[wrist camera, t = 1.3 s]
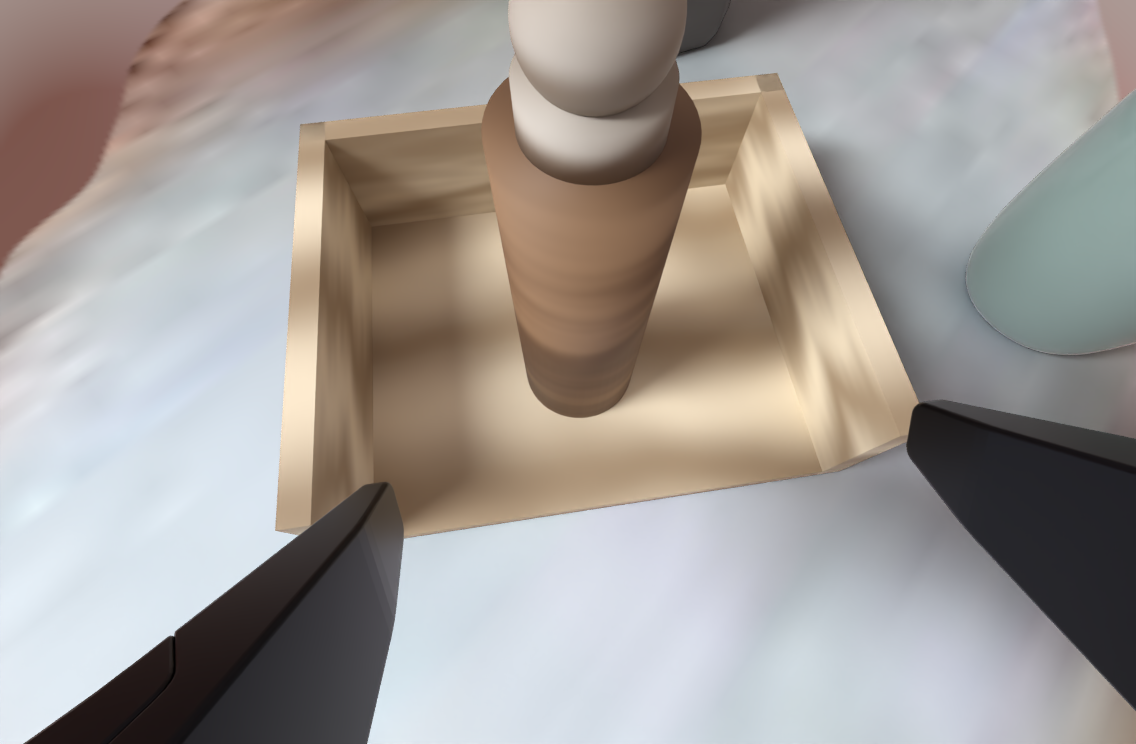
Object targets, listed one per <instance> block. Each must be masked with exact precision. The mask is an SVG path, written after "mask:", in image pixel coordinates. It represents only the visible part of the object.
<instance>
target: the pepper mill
mask: <svg viewBox="0 0 1136 744" xmlns="http://www.w3.org/2000/svg"><path fill="white" fill-rule="evenodd" d="M686 17H687V0H509V7H508V19H509V30H510V36H511V42H512V45H513V48H514V51H515V54H514V57H513V59H512V61H511V65H510V68H509V77H508V78H507V79H506V80H504V81H503V82H502V84H501V85H500V86H499V87H498V88H497V89H496V90H495V92H494V93H493V95H492V96H491V98H490V100H489V102H488V104H487V106H486V108H485V111H484V115H483V118H482V127H481V134H482V143H483V148H484V154H485V159H486V164H487V169H488V175H489V180H490V185H491V190H492V195H493V201H494V206H495V211H496V216H497V222H498V227H499V232H500V237H501V243H502V248H503V253H504V258H505V264H506V269H507V274H508V279H509V284H510V290H511V295H512V300H513V305H514V311H515V316H516V321H517V326H518V332H519V337H520V342H521V347H522V353H523V358H524V363H525V368H526V373H527V378H528V382H529V385H530V388H531V390H532V392H533V393H534V395H535V396H536V398H537V399H538V400H539V401H540V402H541V403H542V404H543V405H544V406H545V407H547V408H548V409H550V410H551V411H553V412H555V413H557V414H560V415H563V416H566V417H572V418H587V417H592V416H596V415H599V414H601V413H604V412H605V411H607V410H609V409H610V408H612V407H613V406H615V405H616V404H617V403H618V402H619V401H620V399H621V398H622V397H623V395H624V394H625V392H626V390H627V388H628V386H629V383H630V380H631V376H632V373H633V370H634V366H635V363H636V360H637V356H638V353H639V350H640V346H641V343H642V340H643V336H644V333H645V330H646V326H647V323H648V320H649V316H650V313H651V310H652V306H653V303H654V300H655V296H656V293H657V290H658V286H659V283H660V280H661V276H662V273H663V270H664V267H665V263H666V260H667V257H668V253H669V250H670V247H671V243H672V240H673V237H674V233H675V230H676V227H677V223H678V220H679V217H680V213H681V210H682V207H683V203H684V200H685V197H686V193H687V190H688V187H689V183H690V180H691V177H692V173H693V170H694V167H695V163H696V160H697V157H698V154H699V149H700V145H701V137H702V129H701V121H700V118H699V114H698V111H697V109H696V107H695V104H694V102H693V100H692V99H691V97H690V96H689V95H688V93H687V92H686V90H685V89H684V88H683V87H682V86H681V85H680V84H679V69H678V66H677V62H676V60H675V59H676V57H677V55H678V52H679V50H680V46H681V43H682V39H683V36H684V32H685V25H686Z"/></svg>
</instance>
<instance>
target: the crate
mask: <svg viewBox="0 0 1136 744" xmlns="http://www.w3.org/2000/svg"><path fill="white" fill-rule="evenodd" d="M680 85H681V86H682V87H683V88H684V89H685V90H686V92H687V93H688V95H689V96H690V97H691V99H692V100H693V102H694V104H695V107H696V109H697V111H698V114H699V118H700V121H701V129H702V137H701V145H700V149H699V154H698V157H697V160H696V163H695V167H694V170H693V173H692V177H691V180H690V183H689V187H688V190H687V193H686V197H685V200H684V203H683V207H682V210H681V213H680V217H679V220H678V223H677V227H676V230H675V233H674V237H673V240H672V243H671V247H670V250H669V253H668V257H667V260H666V263H665V267H664V270H663V273H662V276H661V280H660V283H659V286H658V290H657V293H656V296H655V300H654V303H653V306H652V310H651V313H650V316H649V320H648V323H647V326H646V330H645V333H644V336H643V340H642V343H641V346H640V350H639V353H638V356H637V360H636V363H635V366H634V370H633V373H632V376H631V380H630V383H629V386H628V388H627V390H626V392H625V394H624V395H623V397H622V398H621V399H620V401H619V402H618V403H617V404H616V405H615V406H613V407H612V408H610V409H609V410H607V411H605V412H604V413H601V414H599V415H596V416H592V417H587V418H572V417H566V416H563V415H560V414H557V413H555V412H553V411H551V410H550V409H548V408H547V407H545V406H544V405H543V404H542V403H541V402H540V401H539V400H538V399H537V398H536V396H535V395H534V393H533V392H532V390H531V388H530V385H529V382H528V378H527V373H526V368H525V363H524V358H523V353H522V347H521V342H520V337H519V332H518V326H517V321H516V316H515V311H514V305H513V300H512V295H511V290H510V284H509V279H508V274H507V269H506V264H505V258H504V253H503V248H502V243H501V237H500V232H499V227H498V222H497V216H496V211H495V206H494V201H493V195H492V190H491V185H490V180H489V175H488V169H487V164H486V159H485V154H484V148H483V143H482V134H481V127H482V118H483V115H484V111H485V108H486V106H487V104H486V105H477V106H467V107H458V108H449V109H440V110H430V111H421V112H412V113H403V114H393V115H384V116H375V117H365V118H356V119H347V120H338V121H328V122H319V123H310V124H301V125H300V139H299V155H298V171H297V187H296V203H295V220H294V236H293V252H292V268H291V284H290V301H289V317H288V333H287V349H286V365H285V382H284V398H283V414H282V430H281V447H280V463H279V479H278V495H277V511H276V528H275V531H280V532H285V533H290V534H295V535H300V534H301V533H302V532H304V531H305V530H306V529H308V528H309V527H310V526H312V525H313V524H314V523H315V522H317V521H318V520H319V519H321V518H322V517H323V516H324V515H326V514H327V513H328V512H330V511H331V510H332V509H333V508H335V507H336V506H337V505H339V504H340V503H341V502H342V501H344V500H345V499H346V498H348V497H349V496H350V495H351V494H353V493H354V492H355V491H357V490H358V489H359V488H360V487H362V486H363V485H366V484H372V483H378V482H389V483H390V484H391V485H392V487H393V489H394V492H395V496H396V499H397V503H398V506H399V510H400V513H401V517H402V521H403V526H404V538H410V537H416V536H423V535H429V534H436V533H442V532H449V531H455V530H462V529H468V528H475V527H481V526H488V525H494V524H501V523H507V522H514V521H520V520H526V519H533V518H539V517H546V516H552V515H559V514H565V513H572V512H578V511H585V510H591V509H598V508H604V507H611V506H617V505H624V504H630V503H637V502H643V501H650V500H656V499H663V498H669V497H675V496H682V495H688V494H695V493H701V492H708V491H714V490H721V489H727V488H734V487H740V486H747V485H753V484H760V483H766V482H773V481H779V480H786V479H792V478H799V477H805V476H811V475H818V474H824V473H831V472H837V471H841V470H843V469H845V468H848V467H850V466H852V465H855V464H857V463H859V462H862V461H864V460H866V459H868V458H871V457H873V456H875V455H878V454H880V453H882V452H885V451H887V450H889V449H892V448H894V447H896V446H899V445H901V444H903V443H905V442H907V437H908V431H909V426H910V420H911V414H912V410H913V408H914V407H915V405H917V404H918V403H919V401H918V399H917V397H916V394H915V392H914V390H913V387H912V385H911V383H910V380H909V378H908V376H907V373H906V371H905V369H904V366H903V364H902V362H901V360H900V357H899V355H898V353H897V350H896V348H895V346H894V343H893V341H892V339H891V336H890V334H889V332H888V329H887V327H886V325H885V322H884V320H883V318H882V315H881V313H880V311H879V308H878V306H877V304H876V302H875V299H874V297H873V295H872V292H871V290H870V288H869V285H868V283H867V281H866V278H865V276H864V274H863V271H862V269H861V267H860V264H859V262H858V260H857V257H856V255H855V253H854V250H853V248H852V246H851V243H850V241H849V239H848V237H847V234H846V232H845V230H844V227H843V225H842V223H841V220H840V218H839V216H838V213H837V211H836V209H835V206H834V204H833V202H832V199H831V197H830V195H829V192H828V190H827V188H826V185H825V183H824V181H823V179H822V176H821V174H820V172H819V169H818V167H817V165H816V162H815V160H814V158H813V155H812V153H811V151H810V148H809V146H808V144H807V141H806V139H805V137H804V134H803V132H802V130H801V127H800V125H799V123H798V120H797V118H796V116H795V114H794V111H793V109H792V107H791V104H790V102H789V100H788V97H787V95H786V93H785V90H784V88H783V86H782V83H781V81H780V79H779V76H778V74H777V73H773V74H764V75H755V76H745V77H736V78H727V79H718V80H708V81H699V82H690V83H680Z"/></svg>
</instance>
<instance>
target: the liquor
mask: <svg viewBox="0 0 1136 744" xmlns="http://www.w3.org/2000/svg"><path fill="white" fill-rule="evenodd" d="M730 1H731V0H687V17H686V25H685V32H684V36H683V39H682V43H681V46H680V50H679V52H678V53H680V52H684V51H687V50H691V49H694V48H698V47H701V46H705V45H706V44H707V43H708V42H709V41H710V39H711V38H712V37H713V36H714V35H715V34H716V32H717V30H718V28H719V26H720V24H721V22H722V20H723V18H724V16H725V14H726V11H727V9H728V7H729V5H730Z"/></svg>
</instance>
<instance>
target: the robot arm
mask: <svg viewBox="0 0 1136 744" xmlns="http://www.w3.org/2000/svg"><path fill="white" fill-rule="evenodd" d="M906 447H907V452H908V455H909V457H910V459H911V460H912V462H913V463H914V464H915V465H916V467H917V468H918V469H919V471H920V472H921V473H922V474H923V476H924V477H925V478H926V479H927V481H928V482H929V483H930V485H931V486H932V487H933V488H934V490H935V491H936V492H937V494H938V495H939V496H940V497H941V499H942V500H943V501H944V503H945V504H946V505H947V506H948V508H949V509H950V510H951V512H952V513H953V514H954V515H955V517H956V518H957V519H958V520H959V522H960V523H961V524H962V525H963V526H964V528H965V529H966V530H967V531H968V532H969V533H970V535H971V536H972V537H973V538H974V539H975V540H976V541H977V542H978V543H979V544H980V545H981V547H982V548H983V549H984V550H985V551H986V552H987V553H988V554H989V555H990V556H991V557H992V558H993V559H994V560H995V561H996V563H997V564H998V565H999V566H1000V567H1001V568H1002V569H1003V570H1004V571H1005V572H1006V573H1007V574H1008V575H1009V576H1010V577H1011V579H1012V580H1013V581H1014V582H1015V583H1016V584H1017V585H1018V586H1019V587H1020V588H1021V589H1022V590H1023V591H1024V592H1025V593H1026V595H1027V596H1028V597H1029V598H1030V599H1031V600H1032V601H1033V602H1034V603H1035V604H1036V605H1037V606H1038V607H1039V608H1040V609H1041V611H1042V612H1043V613H1044V614H1045V615H1046V616H1047V617H1048V618H1049V619H1050V620H1051V621H1052V622H1053V623H1054V624H1055V625H1056V627H1057V628H1058V629H1059V630H1060V631H1061V632H1062V633H1063V634H1064V635H1065V636H1066V637H1067V638H1068V639H1069V640H1070V641H1071V643H1072V644H1073V645H1074V646H1075V647H1076V648H1077V649H1078V650H1079V651H1080V652H1081V653H1082V654H1083V655H1084V656H1085V657H1086V659H1087V660H1088V661H1089V662H1090V663H1091V664H1092V665H1093V666H1094V667H1095V668H1096V669H1097V670H1098V671H1099V672H1100V673H1101V675H1102V676H1103V677H1104V678H1105V679H1106V680H1107V681H1108V682H1109V683H1110V684H1111V685H1112V686H1113V687H1114V688H1115V689H1116V691H1117V692H1118V693H1119V694H1120V695H1121V696H1122V697H1123V698H1124V699H1125V700H1126V701H1127V702H1128V703H1129V704H1130V705H1131V707H1132V708H1133V709H1134V710H1135V711H1136V439H1134V438H1129V437H1124V436H1119V435H1114V434H1109V433H1104V432H1099V431H1094V430H1089V429H1084V428H1079V427H1075V426H1070V425H1065V424H1060V423H1055V422H1050V421H1045V420H1040V419H1035V418H1030V417H1025V416H1020V415H1016V414H1011V413H1006V412H1001V411H996V410H991V409H986V408H981V407H976V406H971V405H966V404H962V403H957V402H952V401H947V400H934V401H927V402H921V403H918V404H917V405H915V407H914V408H913V410H912V414H911V420H910V426H909V431H908V437H907V444H906ZM403 540H404V526H403V521H402V517H401V513H400V510H399V506H398V503H397V499H396V496H395V492H394V489H393V487H392V485H391V484H390V483H389V482H378V483H372V484H366V485H363V486H362V487H360V488H359V489H358V490H357V491H355V492H354V493H353V494H351V495H350V496H349V497H348V498H346V499H345V500H344V501H342V502H341V503H340V504H339V505H337V506H336V507H335V508H333V509H332V510H331V511H330V512H328V513H327V514H326V515H324V516H323V517H322V518H321V519H319V520H318V521H317V522H315V523H314V524H313V525H312V526H310V527H309V528H308V529H306V530H305V531H304V532H302V533H301V534H300V535H299V536H297V537H296V538H295V539H293V540H292V541H291V542H290V543H288V544H287V545H286V546H284V547H283V548H282V549H281V550H279V551H278V552H277V553H275V554H274V555H273V556H272V557H270V558H269V559H268V560H266V561H265V562H264V563H263V564H261V565H260V566H259V567H257V568H256V569H255V570H254V571H252V572H251V573H250V574H248V575H247V576H246V577H245V578H243V579H242V580H241V581H239V582H238V583H237V584H236V585H234V586H233V587H232V588H230V589H229V590H228V591H227V592H225V593H224V594H223V595H221V596H220V597H219V598H218V599H216V600H215V601H214V602H212V603H211V604H210V605H209V606H207V607H206V608H205V609H203V610H202V611H201V612H200V613H198V614H197V615H196V616H194V617H193V618H192V619H190V620H189V621H188V622H187V623H185V624H184V625H183V626H181V627H180V628H179V629H178V630H176V631H175V634H174V636H169V637H167V638H166V639H164V640H163V641H162V642H161V643H159V644H158V645H157V646H156V647H154V648H153V649H152V650H150V651H149V652H148V653H147V654H145V655H144V656H143V657H142V658H140V659H139V660H138V661H136V662H135V663H134V664H132V665H131V666H130V667H128V668H127V669H126V670H124V671H123V672H122V673H120V674H119V675H118V676H116V677H115V678H114V679H112V680H111V681H110V682H108V683H107V684H106V685H104V686H103V687H102V688H101V689H99V690H98V691H97V692H95V693H94V694H92V695H91V696H90V697H88V698H87V699H85V700H84V701H83V702H81V703H80V704H78V705H77V706H76V707H74V708H73V709H72V710H70V711H69V712H67V713H66V714H65V715H63V716H62V717H60V718H59V719H58V720H56V721H55V722H53V723H52V724H51V725H49V726H48V727H46V728H45V729H44V730H42V731H41V732H39V733H38V734H37V735H35V736H34V737H32V738H31V739H29V740H28V741H27V742H25V743H24V744H367V742H368V737H369V733H370V729H371V724H372V720H373V716H374V711H375V707H376V702H377V698H378V694H379V689H380V685H381V681H382V676H383V672H384V667H385V663H386V659H387V654H388V650H389V645H390V641H391V637H392V632H393V627H394V621H395V614H396V606H397V597H398V587H399V578H400V569H401V559H402V550H403Z"/></svg>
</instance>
